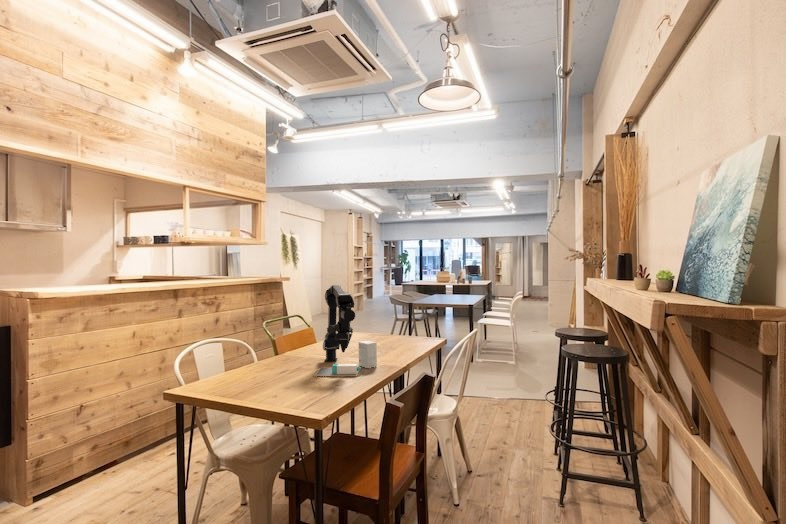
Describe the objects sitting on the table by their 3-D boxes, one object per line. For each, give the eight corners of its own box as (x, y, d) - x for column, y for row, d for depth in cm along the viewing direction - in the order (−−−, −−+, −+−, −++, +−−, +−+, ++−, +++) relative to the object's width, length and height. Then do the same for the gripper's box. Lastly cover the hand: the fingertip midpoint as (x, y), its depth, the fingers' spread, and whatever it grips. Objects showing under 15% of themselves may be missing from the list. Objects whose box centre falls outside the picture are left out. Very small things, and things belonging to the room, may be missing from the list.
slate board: (320, 368, 222) (319, 367, 222) (360, 368, 221) (360, 367, 221) (313, 376, 206) (313, 375, 206) (357, 376, 206) (357, 375, 206)
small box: (377, 367, 224) (376, 342, 224) (367, 369, 220) (367, 344, 220) (368, 364, 231) (367, 340, 230) (358, 366, 226) (358, 341, 226)
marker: (333, 372, 213) (333, 363, 213) (361, 371, 212) (361, 363, 212) (332, 374, 209) (332, 365, 209) (360, 373, 208) (360, 365, 208)
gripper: (331, 316, 220) (331, 346, 220) (324, 321, 201) (324, 354, 202) (352, 316, 220) (353, 346, 220) (347, 321, 201) (348, 354, 201)
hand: (344, 350), depth 211 cm, fingers open, 9 cm apart
